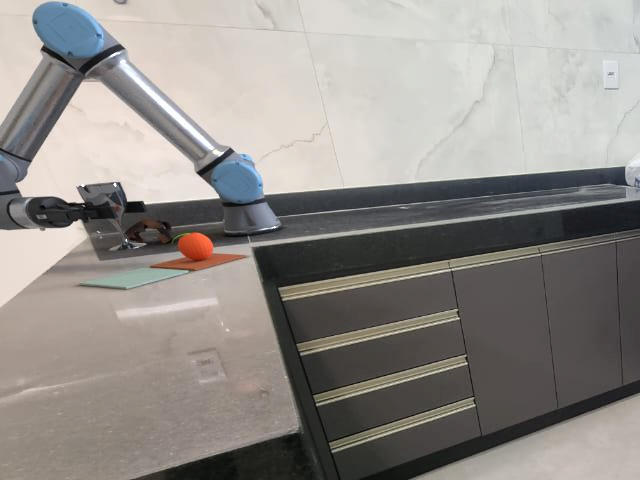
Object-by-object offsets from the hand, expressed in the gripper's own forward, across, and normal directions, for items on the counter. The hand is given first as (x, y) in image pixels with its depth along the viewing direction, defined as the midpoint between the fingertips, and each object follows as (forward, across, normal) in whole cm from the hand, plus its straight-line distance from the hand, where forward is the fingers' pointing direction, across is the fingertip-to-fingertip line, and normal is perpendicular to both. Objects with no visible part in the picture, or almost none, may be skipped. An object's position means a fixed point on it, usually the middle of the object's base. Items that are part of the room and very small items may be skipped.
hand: (129, 209), depth 128 cm
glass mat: (+6, +12, -14) cm, 19 cm away
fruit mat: (+10, -2, -14) cm, 17 cm away
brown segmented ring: (-27, -28, -14) cm, 41 cm away
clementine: (+10, -2, -14) cm, 17 cm away
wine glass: (-5, 0, -9) cm, 10 cm away
